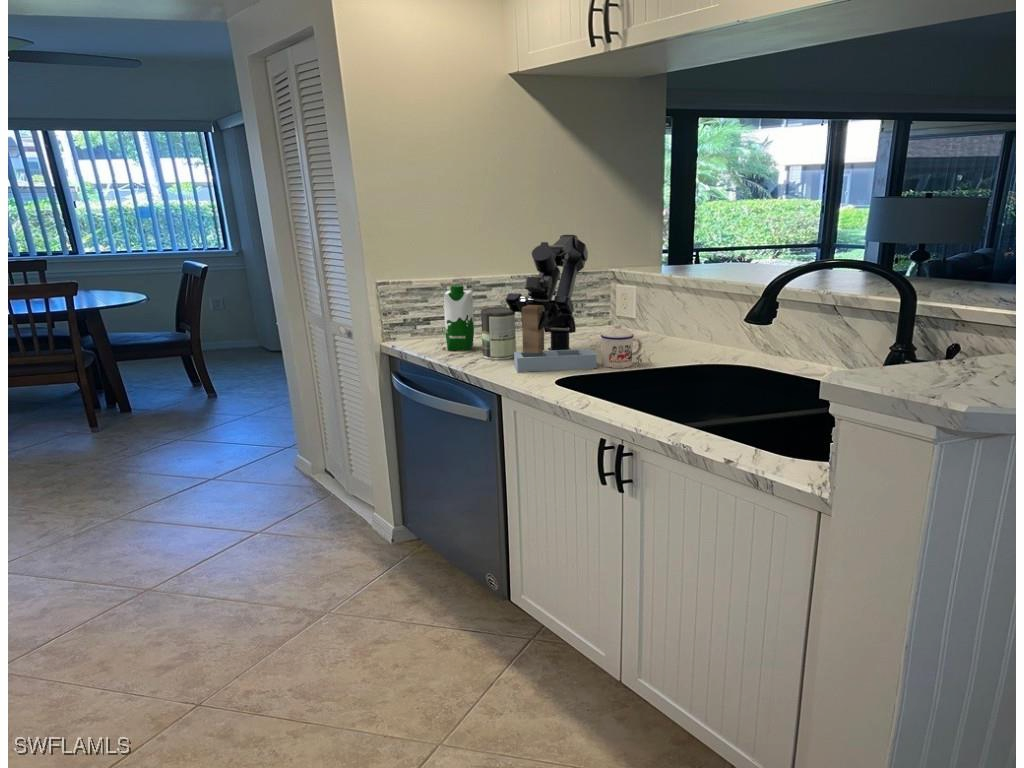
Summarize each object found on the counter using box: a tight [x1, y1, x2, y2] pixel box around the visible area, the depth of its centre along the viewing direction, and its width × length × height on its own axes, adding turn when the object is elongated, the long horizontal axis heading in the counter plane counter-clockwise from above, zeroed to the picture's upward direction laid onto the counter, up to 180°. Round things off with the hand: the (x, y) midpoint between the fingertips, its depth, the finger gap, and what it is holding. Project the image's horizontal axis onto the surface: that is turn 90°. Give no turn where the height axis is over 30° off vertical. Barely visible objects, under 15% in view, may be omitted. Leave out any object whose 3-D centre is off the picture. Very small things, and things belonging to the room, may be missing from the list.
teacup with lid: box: [600, 323, 643, 369], centre depth 215 cm, size 12×9×12 cm
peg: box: [521, 305, 545, 353], centre depth 211 cm, size 4×4×12 cm
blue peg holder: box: [513, 348, 598, 373], centre depth 214 cm, size 22×8×4 cm, turn 96°
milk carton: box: [443, 284, 475, 352], centre depth 240 cm, size 9×9×20 cm
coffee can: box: [480, 306, 517, 361], centre depth 228 cm, size 10×10×14 cm
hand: (531, 328), depth 210 cm, fingers closed on peg, 4 cm apart
